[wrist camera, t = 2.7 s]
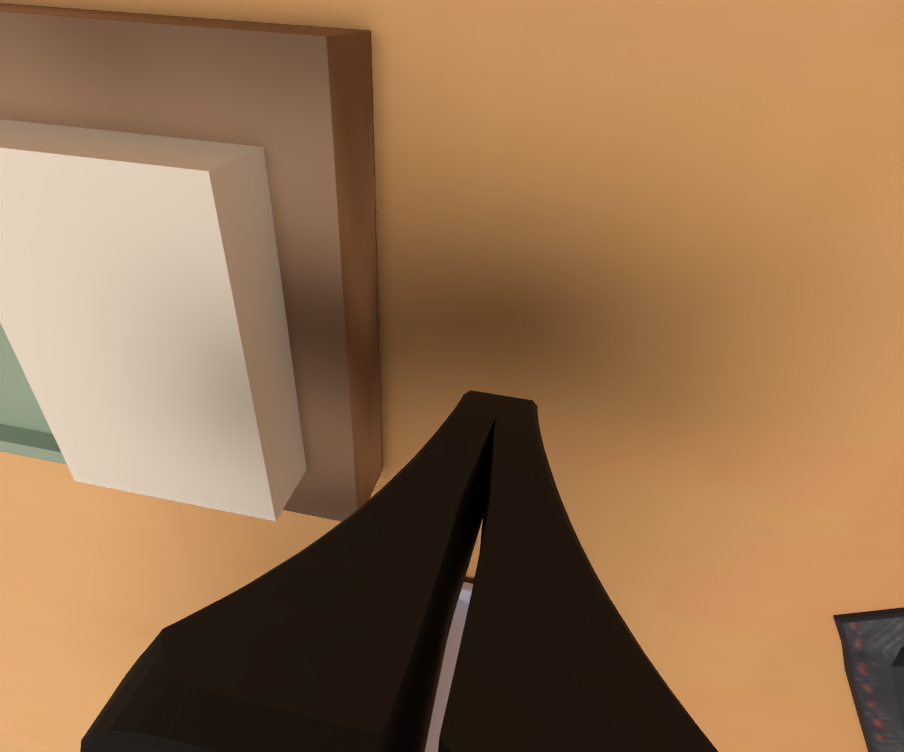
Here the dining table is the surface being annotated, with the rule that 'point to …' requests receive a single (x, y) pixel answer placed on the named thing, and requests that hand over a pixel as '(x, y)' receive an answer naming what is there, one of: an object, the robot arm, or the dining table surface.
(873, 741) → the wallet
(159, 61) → the deck
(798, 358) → the dining table surface
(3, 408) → the tray
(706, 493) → the dining table surface
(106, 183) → the tile
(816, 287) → the dining table surface
